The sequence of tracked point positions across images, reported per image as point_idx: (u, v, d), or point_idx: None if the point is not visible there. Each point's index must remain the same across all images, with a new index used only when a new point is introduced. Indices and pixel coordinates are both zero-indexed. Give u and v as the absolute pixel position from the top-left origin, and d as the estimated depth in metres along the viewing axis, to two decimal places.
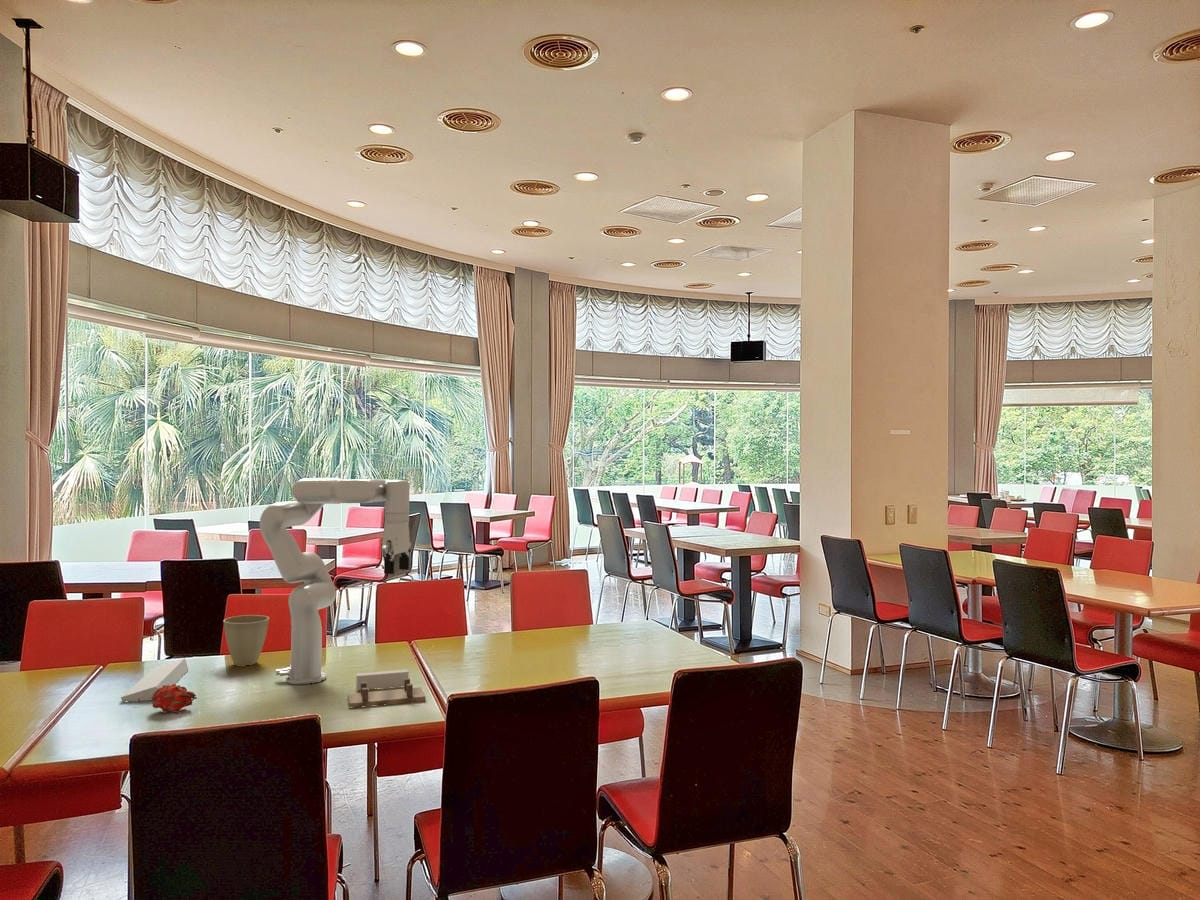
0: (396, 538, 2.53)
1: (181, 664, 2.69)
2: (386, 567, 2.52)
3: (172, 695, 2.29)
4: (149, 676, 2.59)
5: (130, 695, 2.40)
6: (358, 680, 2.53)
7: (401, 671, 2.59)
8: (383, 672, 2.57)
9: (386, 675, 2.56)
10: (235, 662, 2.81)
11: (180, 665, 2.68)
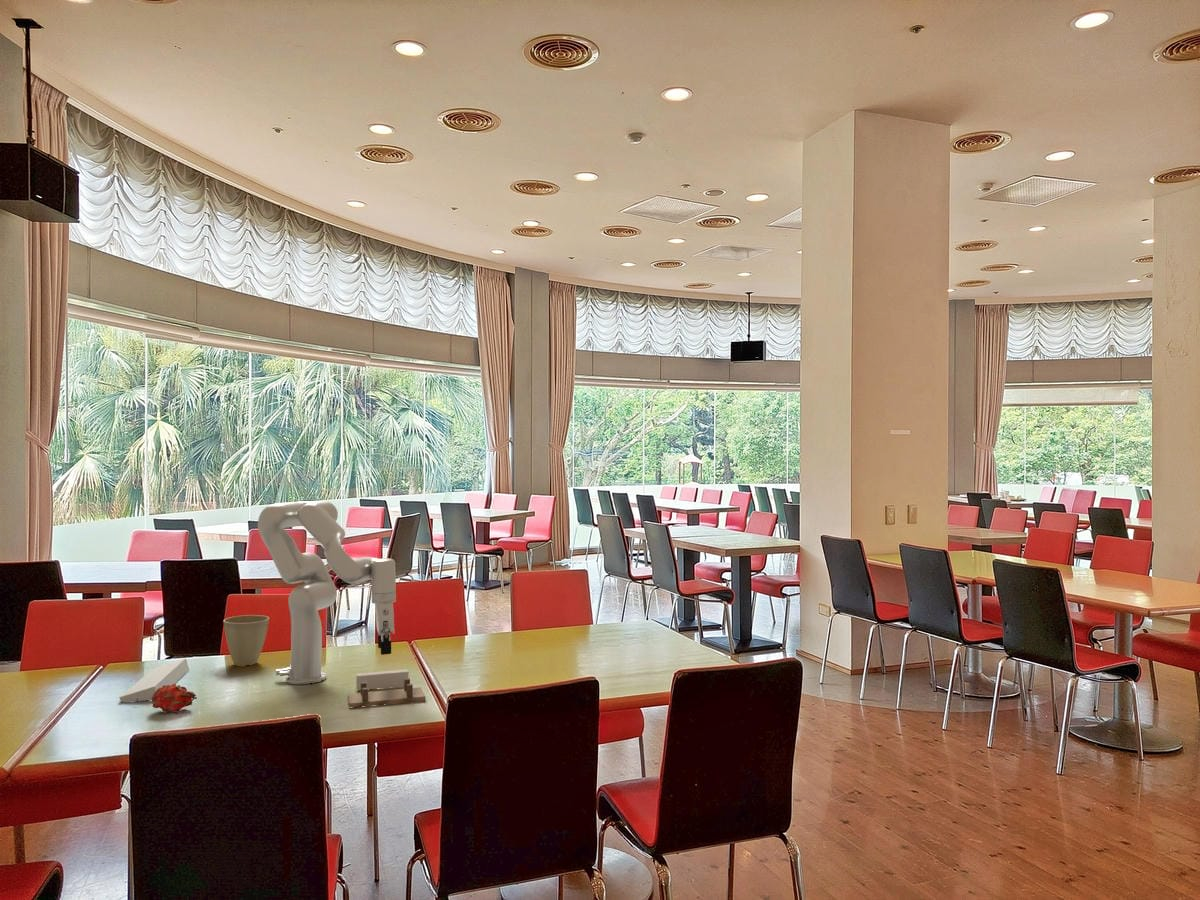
0: None
1: (181, 664, 2.69)
2: None
3: (172, 695, 2.29)
4: (149, 676, 2.59)
5: (128, 695, 2.40)
6: (358, 680, 2.53)
7: (401, 671, 2.59)
8: (383, 672, 2.57)
9: (386, 675, 2.56)
10: (235, 662, 2.81)
11: (180, 665, 2.68)
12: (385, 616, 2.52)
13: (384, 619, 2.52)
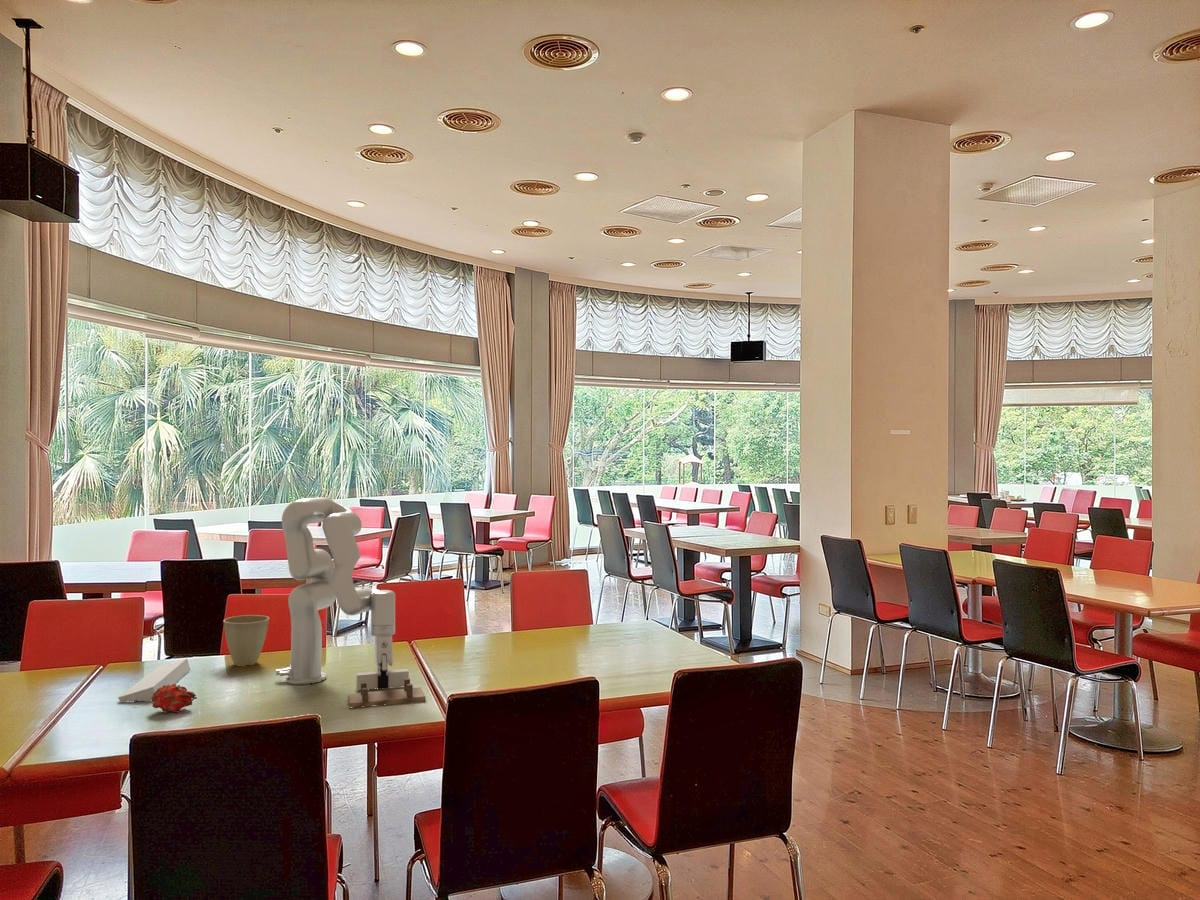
0: None
1: (182, 664, 2.69)
2: None
3: (172, 695, 2.29)
4: (149, 676, 2.59)
5: (127, 695, 2.40)
6: (358, 679, 2.53)
7: (401, 670, 2.59)
8: None
9: None
10: (235, 662, 2.81)
11: (181, 665, 2.68)
12: (384, 649, 2.52)
13: (382, 651, 2.52)
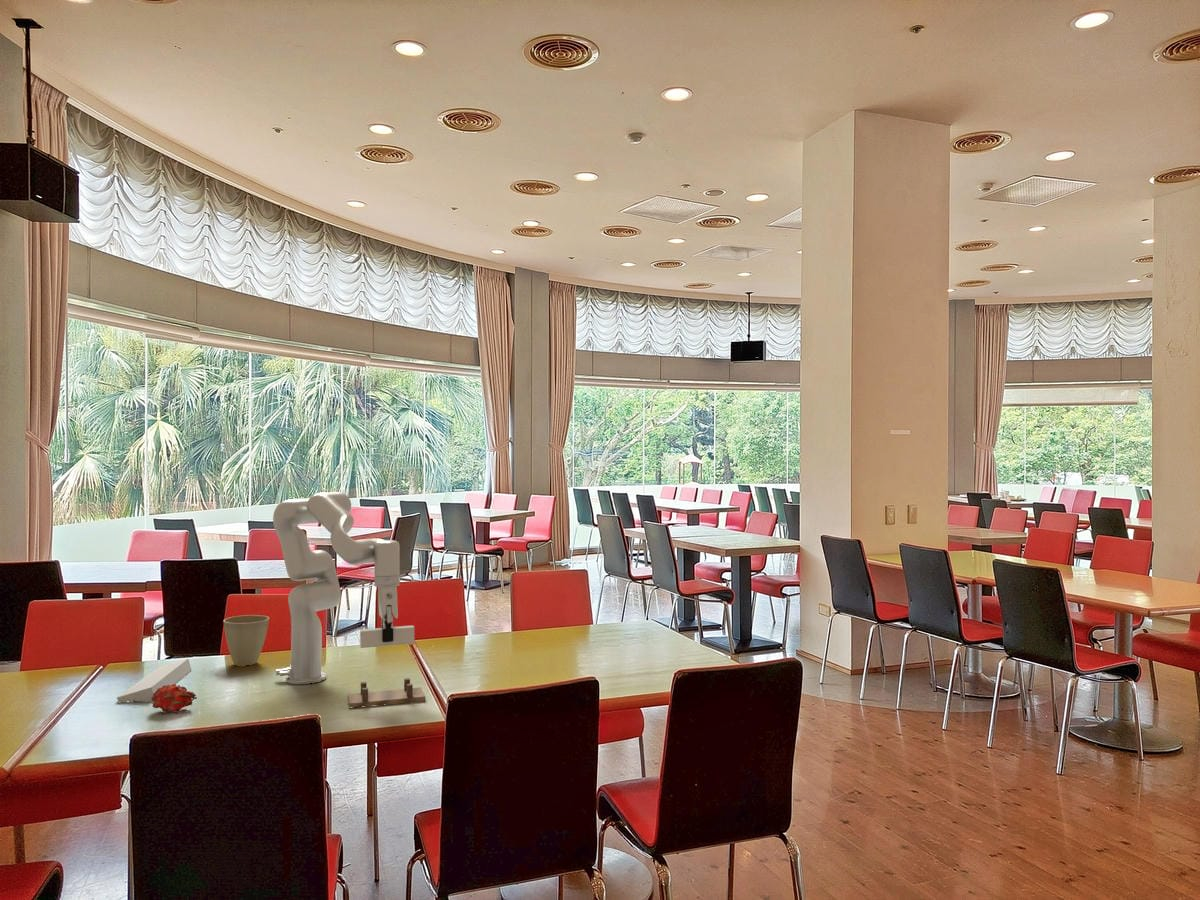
0: None
1: (183, 664, 2.69)
2: None
3: (172, 695, 2.29)
4: (150, 676, 2.59)
5: (126, 696, 2.39)
6: (362, 636, 2.42)
7: (406, 627, 2.48)
8: None
9: None
10: (235, 662, 2.81)
11: (182, 665, 2.67)
12: (389, 600, 2.42)
13: (387, 603, 2.42)
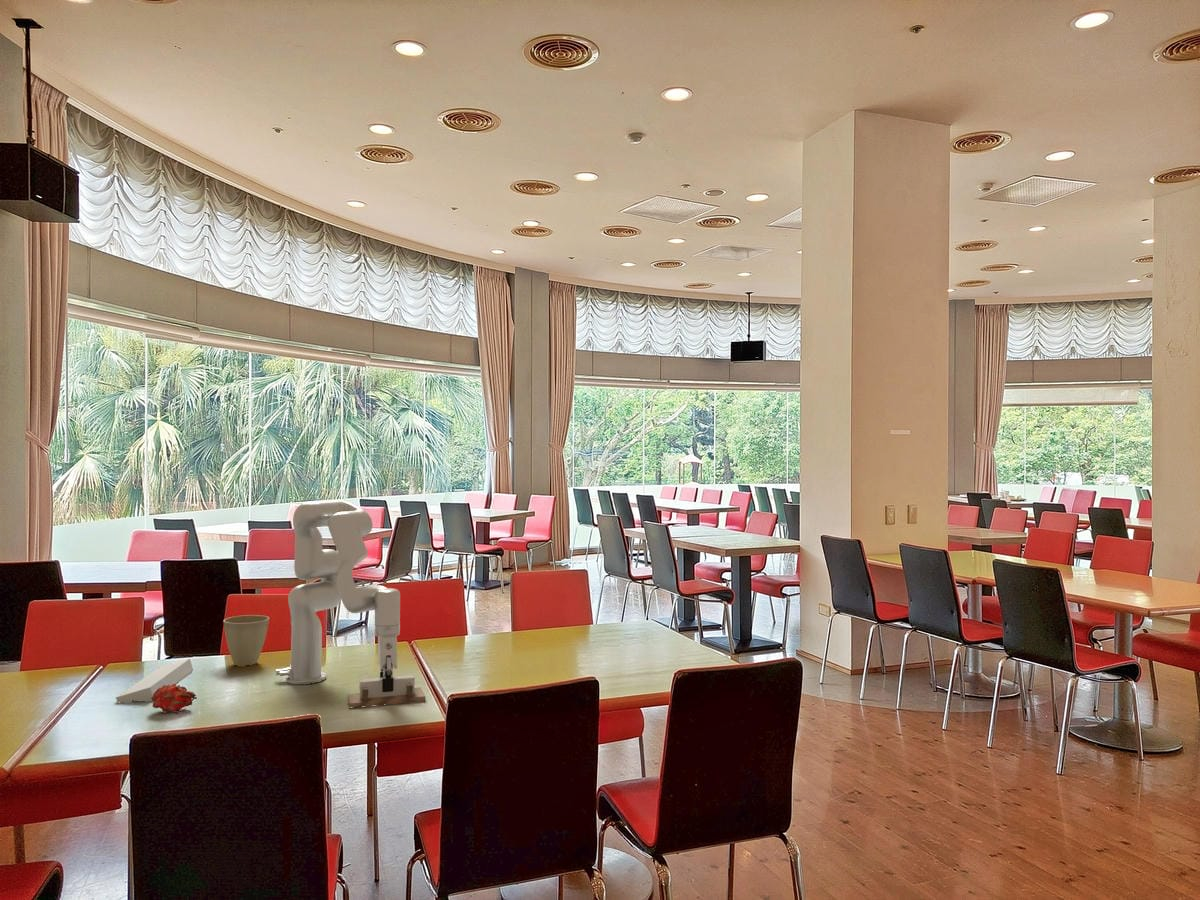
0: None
1: (184, 664, 2.69)
2: None
3: (172, 695, 2.29)
4: (150, 676, 2.59)
5: (124, 695, 2.39)
6: (362, 686, 2.40)
7: (407, 677, 2.46)
8: None
9: None
10: (235, 662, 2.81)
11: (183, 665, 2.67)
12: (388, 650, 2.39)
13: (387, 653, 2.39)
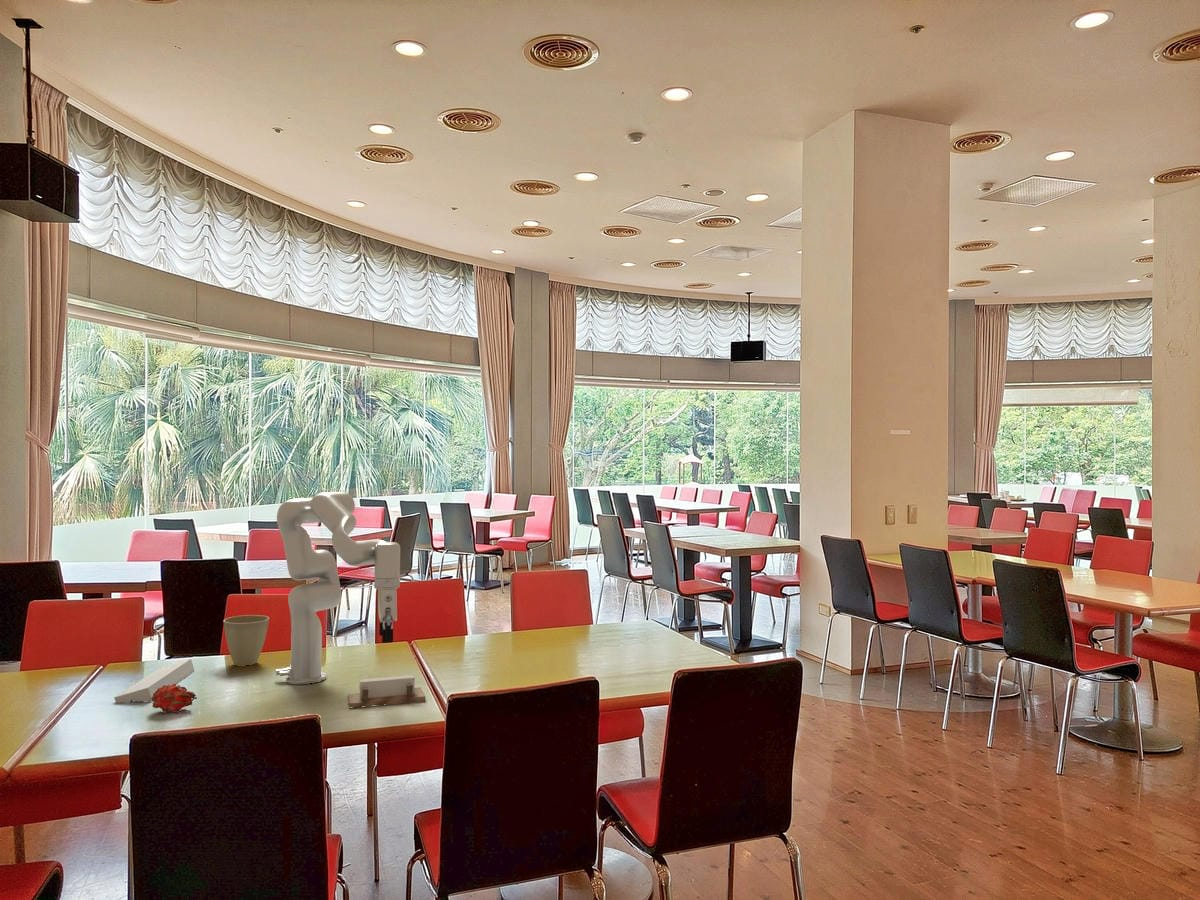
0: None
1: (185, 665, 2.68)
2: None
3: (172, 695, 2.29)
4: (151, 676, 2.59)
5: (123, 696, 2.39)
6: (362, 686, 2.40)
7: (407, 677, 2.46)
8: (388, 678, 2.44)
9: (391, 681, 2.43)
10: (235, 662, 2.81)
11: (183, 666, 2.67)
12: (388, 603, 2.40)
13: (386, 605, 2.40)
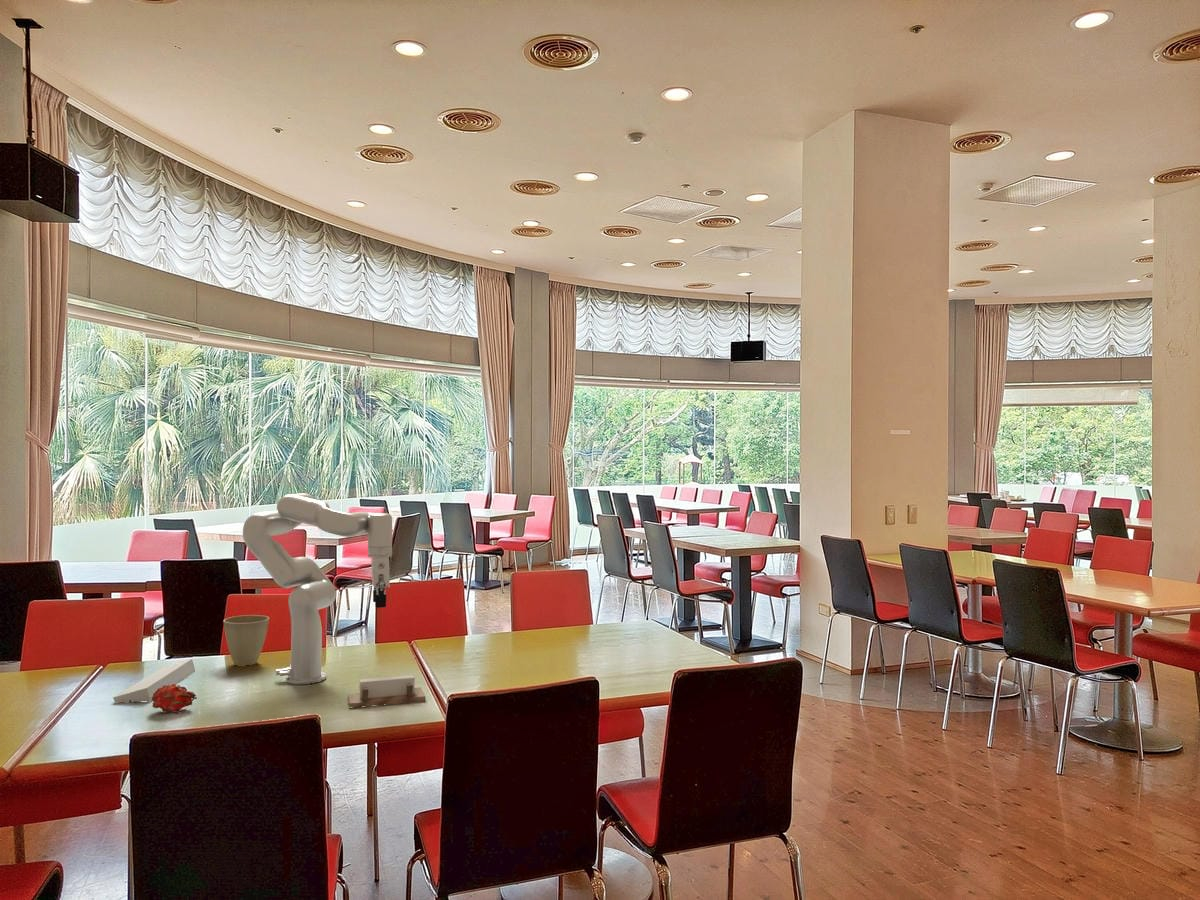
0: None
1: (186, 665, 2.68)
2: None
3: (172, 695, 2.29)
4: (151, 676, 2.59)
5: (122, 696, 2.39)
6: (362, 686, 2.40)
7: (407, 677, 2.46)
8: (388, 678, 2.44)
9: (391, 681, 2.43)
10: (235, 662, 2.81)
11: (184, 666, 2.67)
12: (381, 569, 2.54)
13: (379, 572, 2.54)
